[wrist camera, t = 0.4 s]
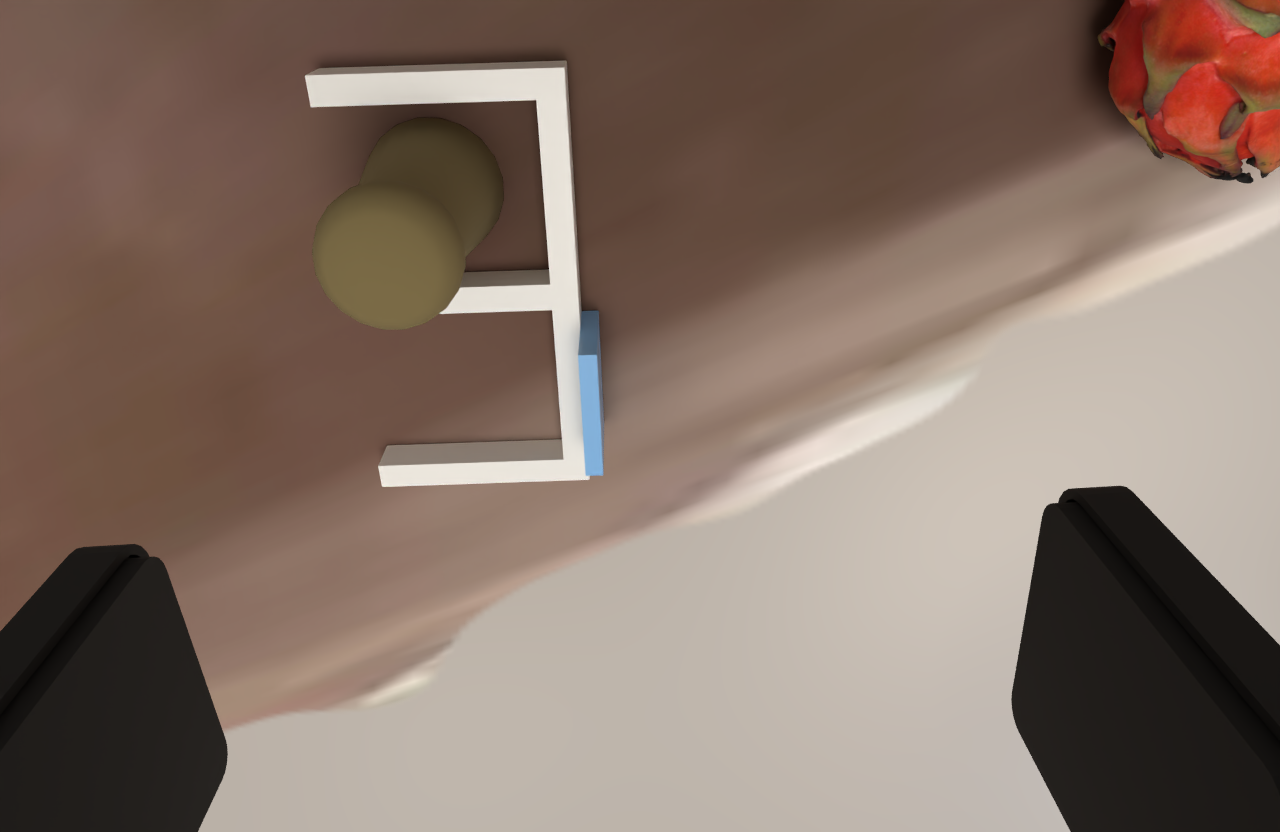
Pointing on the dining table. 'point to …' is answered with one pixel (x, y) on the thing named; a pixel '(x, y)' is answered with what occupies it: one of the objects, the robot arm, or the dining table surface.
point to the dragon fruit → (1200, 80)
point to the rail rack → (504, 273)
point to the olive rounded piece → (408, 224)
